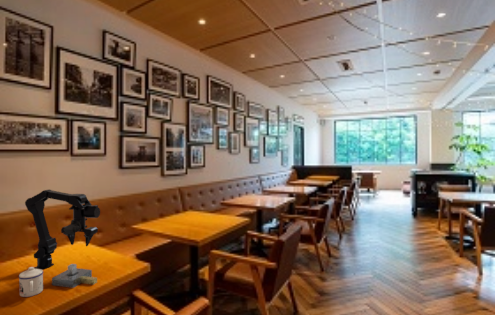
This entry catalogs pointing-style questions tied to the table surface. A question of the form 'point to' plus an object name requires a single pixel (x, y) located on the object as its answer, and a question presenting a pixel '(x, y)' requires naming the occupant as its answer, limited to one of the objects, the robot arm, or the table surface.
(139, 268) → the table surface
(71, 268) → the wedge pin
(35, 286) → the teacup with lid
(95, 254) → the table surface
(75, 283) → the grey slotted block
